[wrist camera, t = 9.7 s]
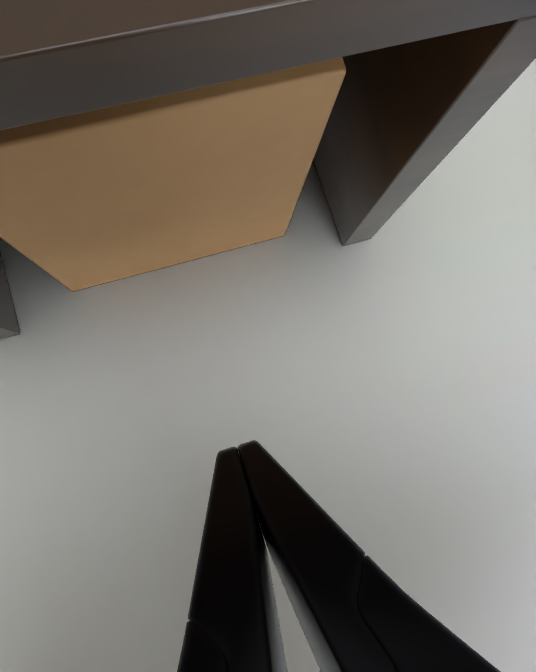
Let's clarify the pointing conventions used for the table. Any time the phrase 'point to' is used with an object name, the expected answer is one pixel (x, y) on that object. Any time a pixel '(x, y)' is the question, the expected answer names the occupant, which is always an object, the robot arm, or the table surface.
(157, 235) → the box
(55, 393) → the table surface
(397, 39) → the shelf
